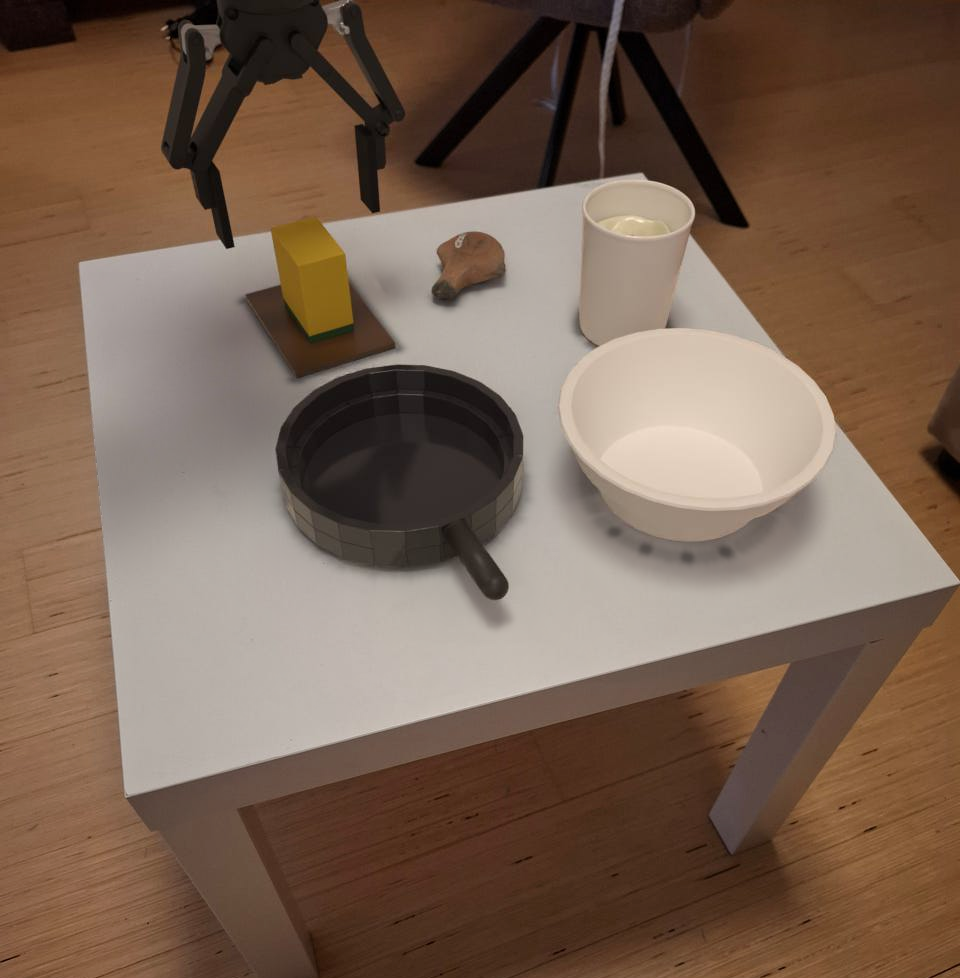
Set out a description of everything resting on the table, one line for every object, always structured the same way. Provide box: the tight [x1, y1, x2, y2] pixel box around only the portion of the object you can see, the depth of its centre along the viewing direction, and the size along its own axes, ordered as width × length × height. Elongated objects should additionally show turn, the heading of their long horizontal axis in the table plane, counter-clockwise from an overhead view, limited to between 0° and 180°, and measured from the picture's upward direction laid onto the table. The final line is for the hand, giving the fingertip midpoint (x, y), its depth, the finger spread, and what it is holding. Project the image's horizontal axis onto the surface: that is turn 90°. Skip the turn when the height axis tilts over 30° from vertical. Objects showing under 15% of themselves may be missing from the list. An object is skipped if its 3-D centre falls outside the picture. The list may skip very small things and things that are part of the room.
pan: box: [275, 363, 524, 568], centre depth 77 cm, size 20×20×4 cm
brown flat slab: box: [245, 282, 396, 379], centre depth 91 cm, size 14×10×1 cm
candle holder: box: [578, 178, 696, 347], centre depth 87 cm, size 10×10×12 cm
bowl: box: [557, 327, 837, 543], centre depth 75 cm, size 21×21×8 cm
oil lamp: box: [431, 230, 507, 300], centre depth 95 cm, size 9×4×8 cm
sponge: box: [270, 216, 354, 343], centre depth 88 cm, size 7×4×8 cm, turn 28°
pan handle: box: [444, 520, 510, 601], centre depth 69 cm, size 8×2×2 cm, turn 28°
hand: (299, 223), depth 83 cm, fingers open, 13 cm apart
